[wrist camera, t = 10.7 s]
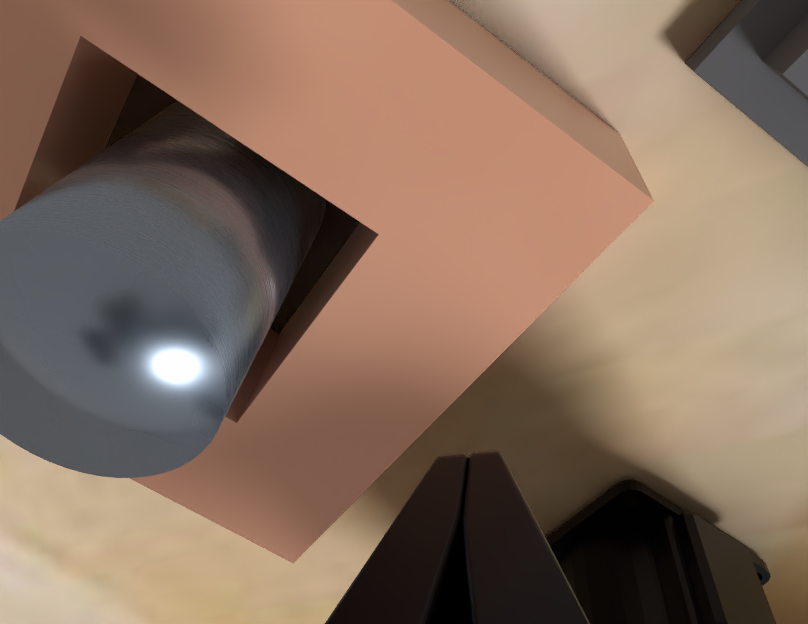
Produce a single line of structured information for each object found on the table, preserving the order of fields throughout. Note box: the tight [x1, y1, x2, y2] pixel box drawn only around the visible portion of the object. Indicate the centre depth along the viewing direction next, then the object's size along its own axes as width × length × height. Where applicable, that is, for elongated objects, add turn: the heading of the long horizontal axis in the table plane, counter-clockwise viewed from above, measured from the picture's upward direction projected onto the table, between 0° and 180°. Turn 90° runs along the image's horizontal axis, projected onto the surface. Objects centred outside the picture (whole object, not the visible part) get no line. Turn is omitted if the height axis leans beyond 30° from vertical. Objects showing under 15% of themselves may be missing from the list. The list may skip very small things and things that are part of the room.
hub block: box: [0, 0, 654, 563], centre depth 16 cm, size 14×14×4 cm
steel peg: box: [0, 101, 326, 478], centre depth 15 cm, size 5×5×8 cm
